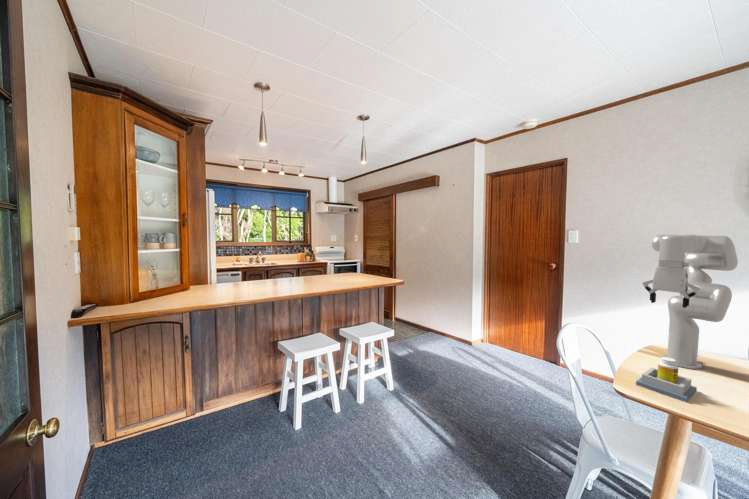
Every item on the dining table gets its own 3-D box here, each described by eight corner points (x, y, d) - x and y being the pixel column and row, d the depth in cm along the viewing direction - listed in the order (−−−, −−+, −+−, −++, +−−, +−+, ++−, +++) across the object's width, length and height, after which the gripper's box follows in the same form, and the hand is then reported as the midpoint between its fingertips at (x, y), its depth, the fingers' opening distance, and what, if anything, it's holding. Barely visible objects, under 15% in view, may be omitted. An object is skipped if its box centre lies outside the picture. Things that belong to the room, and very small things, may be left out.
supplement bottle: (675, 389, 110) (676, 363, 109) (655, 383, 115) (656, 358, 114) (678, 385, 113) (680, 359, 112) (659, 379, 118) (660, 354, 117)
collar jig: (648, 375, 124) (648, 365, 123) (696, 391, 112) (697, 379, 112) (636, 384, 116) (636, 373, 116) (686, 402, 104) (687, 390, 104)
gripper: (703, 266, 117) (700, 308, 118) (647, 262, 132) (644, 299, 133) (698, 267, 113) (695, 310, 114) (641, 263, 128) (638, 301, 129)
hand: (668, 304), depth 123 cm, fingers open, 9 cm apart
